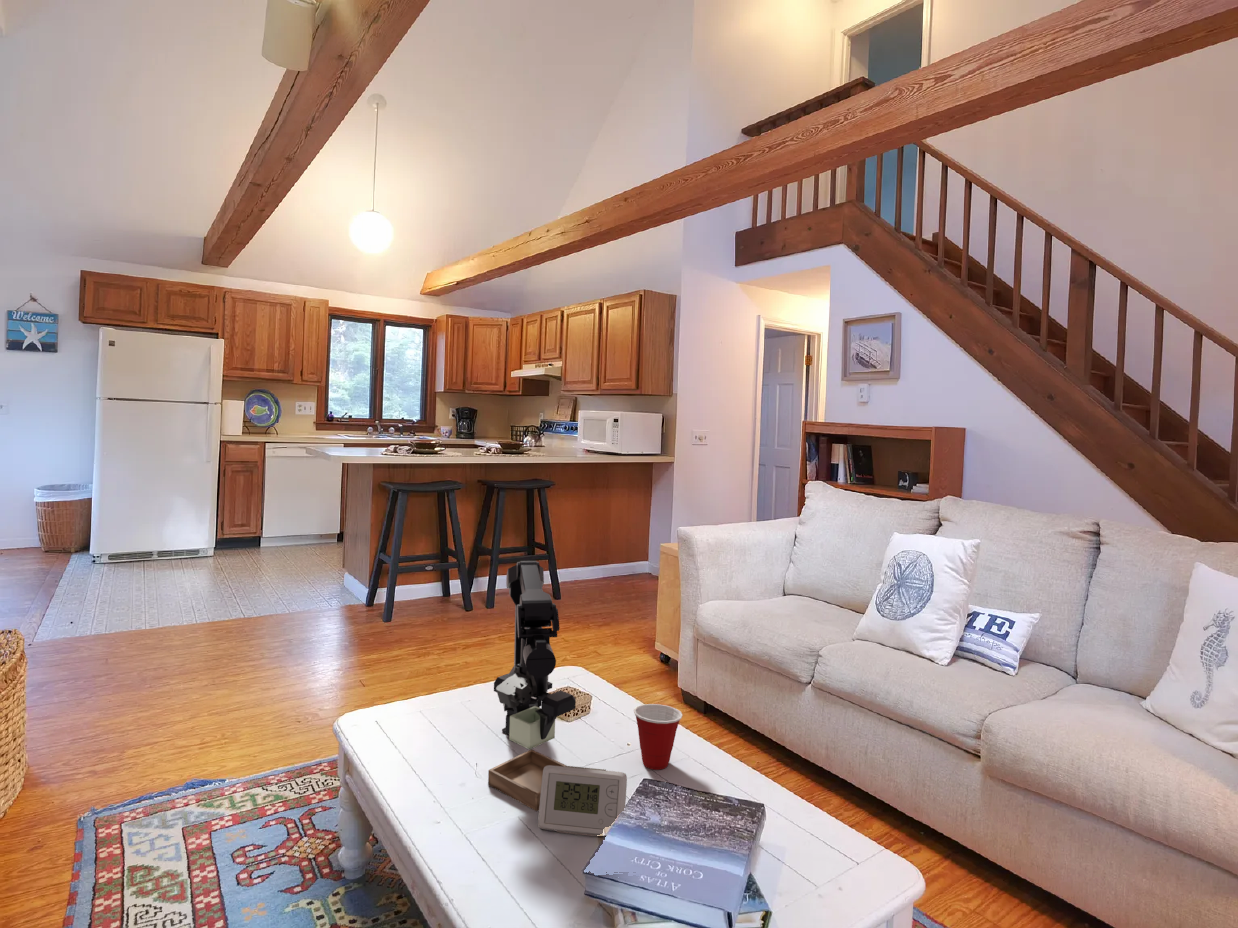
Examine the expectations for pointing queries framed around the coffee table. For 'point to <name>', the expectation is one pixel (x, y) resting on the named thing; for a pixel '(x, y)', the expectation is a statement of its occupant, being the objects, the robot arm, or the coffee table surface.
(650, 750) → the plastic cup
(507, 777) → the big crate
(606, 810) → the digital clock
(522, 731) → the small crate
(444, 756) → the coffee table surface
